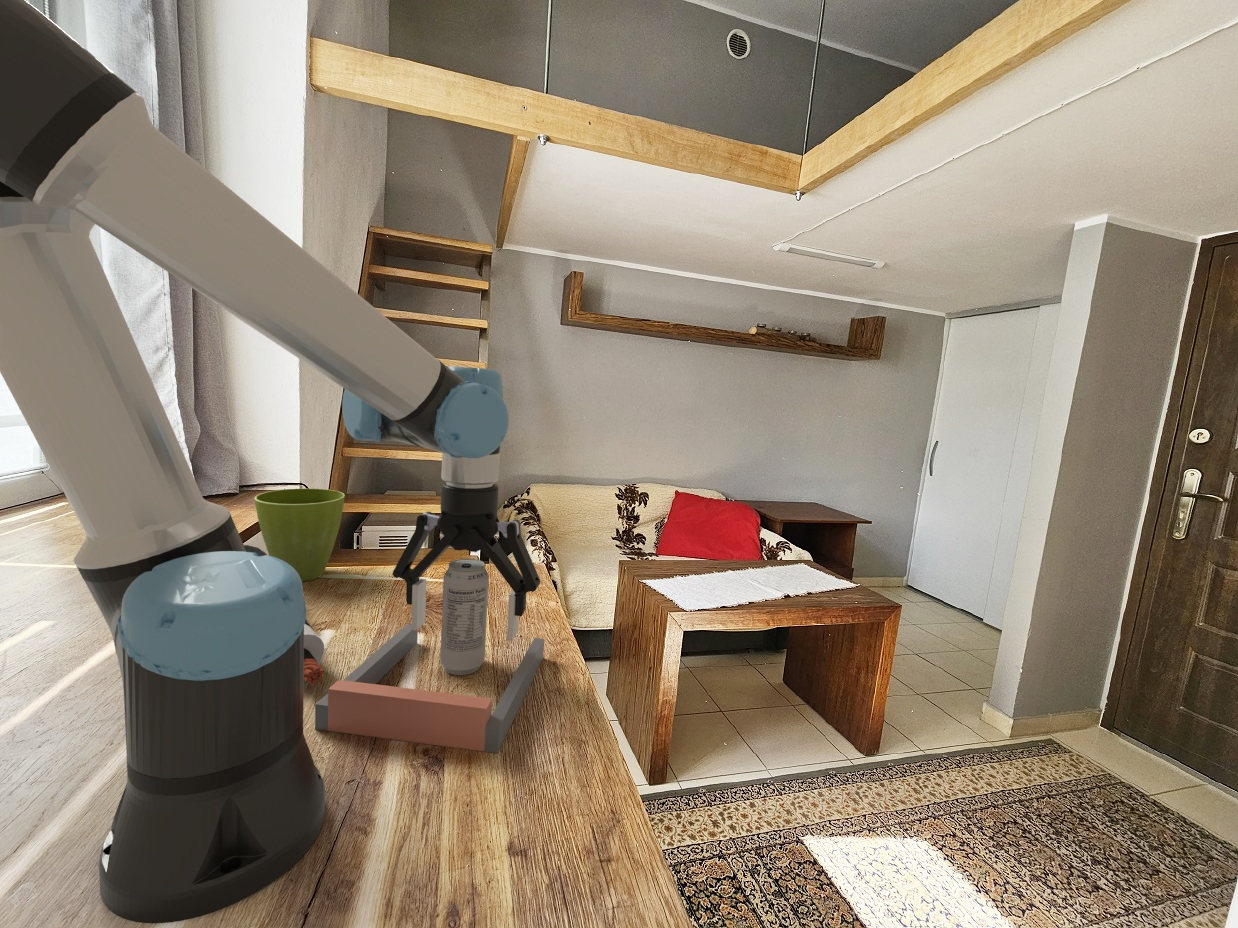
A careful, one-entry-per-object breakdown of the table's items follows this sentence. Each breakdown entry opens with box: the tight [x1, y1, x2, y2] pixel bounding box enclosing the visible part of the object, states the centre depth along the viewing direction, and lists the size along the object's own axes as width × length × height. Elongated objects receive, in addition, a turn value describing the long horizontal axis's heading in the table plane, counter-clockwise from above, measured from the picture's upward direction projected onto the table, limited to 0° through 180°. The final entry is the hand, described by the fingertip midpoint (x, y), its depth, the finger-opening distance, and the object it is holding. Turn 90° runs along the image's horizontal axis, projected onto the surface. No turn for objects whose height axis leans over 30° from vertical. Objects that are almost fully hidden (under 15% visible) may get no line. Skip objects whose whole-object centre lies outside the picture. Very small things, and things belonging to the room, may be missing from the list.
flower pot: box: [254, 488, 346, 582], centre depth 105 cm, size 15×15×16 cm
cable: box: [243, 544, 326, 686], centre depth 78 cm, size 10×34×10 cm, turn 46°
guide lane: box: [314, 623, 545, 754], centre depth 71 cm, size 22×21×5 cm
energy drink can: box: [440, 558, 489, 676], centre depth 76 cm, size 6×6×15 cm
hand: (465, 631), depth 76 cm, fingers open, 13 cm apart
